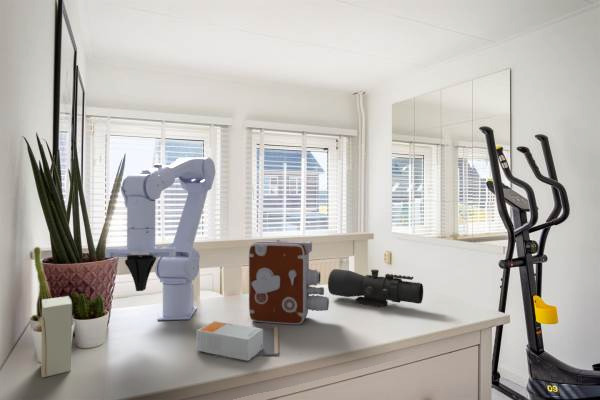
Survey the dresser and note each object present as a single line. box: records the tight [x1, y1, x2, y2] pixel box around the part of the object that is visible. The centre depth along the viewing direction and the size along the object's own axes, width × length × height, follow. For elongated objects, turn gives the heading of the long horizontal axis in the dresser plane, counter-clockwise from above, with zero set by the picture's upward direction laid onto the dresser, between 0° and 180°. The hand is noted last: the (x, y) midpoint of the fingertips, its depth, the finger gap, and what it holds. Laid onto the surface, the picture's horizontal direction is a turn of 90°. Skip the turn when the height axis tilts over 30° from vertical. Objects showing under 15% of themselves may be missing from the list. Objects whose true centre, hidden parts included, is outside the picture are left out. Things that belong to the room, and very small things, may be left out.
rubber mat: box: [215, 326, 280, 359], centre depth 76 cm, size 14×12×1 cm
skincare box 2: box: [195, 320, 263, 362], centre depth 71 cm, size 6×4×12 cm
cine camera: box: [248, 239, 330, 325], centre depth 89 cm, size 9×19×20 cm, turn 78°
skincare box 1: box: [40, 295, 73, 378], centre depth 64 cm, size 6×4×12 cm
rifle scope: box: [327, 268, 424, 309], centre depth 102 cm, size 10×26×10 cm, turn 58°
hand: (140, 290), depth 78 cm, fingers closed
